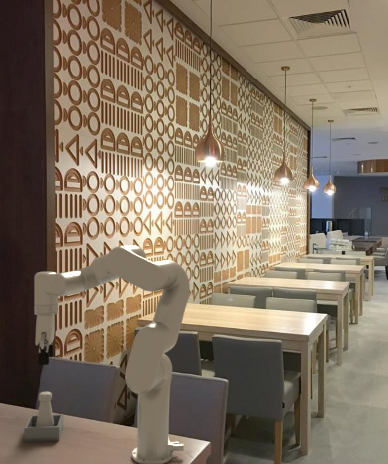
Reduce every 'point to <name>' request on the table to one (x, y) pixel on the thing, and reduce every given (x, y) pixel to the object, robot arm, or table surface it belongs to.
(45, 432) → the tray
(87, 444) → the table surface
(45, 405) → the salt shaker
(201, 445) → the table surface
